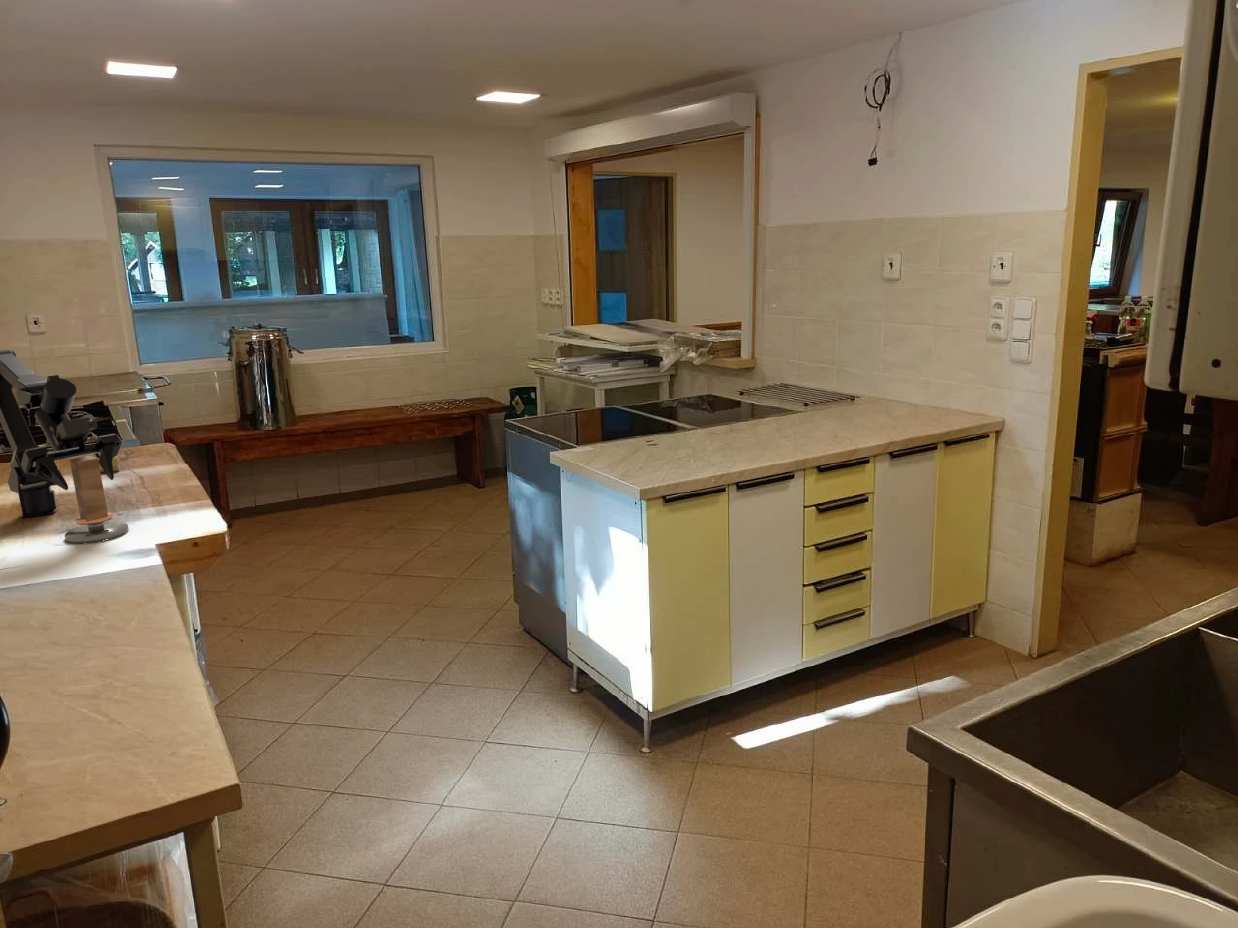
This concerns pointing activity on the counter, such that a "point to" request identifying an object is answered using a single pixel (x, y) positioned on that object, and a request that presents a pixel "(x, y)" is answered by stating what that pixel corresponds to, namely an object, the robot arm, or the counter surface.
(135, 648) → the counter surface
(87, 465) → the walnut stick
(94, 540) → the copper topped disc
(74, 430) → the robot arm
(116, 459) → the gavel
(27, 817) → the counter surface
